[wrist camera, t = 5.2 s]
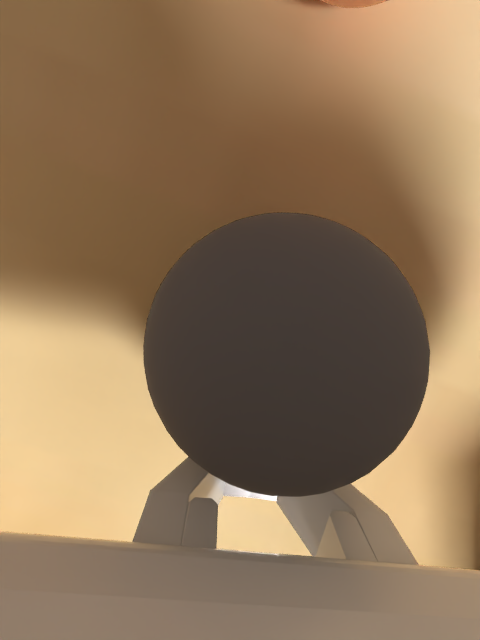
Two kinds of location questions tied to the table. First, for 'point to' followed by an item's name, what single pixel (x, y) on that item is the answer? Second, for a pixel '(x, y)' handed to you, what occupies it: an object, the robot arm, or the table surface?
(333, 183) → the table surface
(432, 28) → the table surface
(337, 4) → the terracotta egg
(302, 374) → the gray ball
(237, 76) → the table surface
